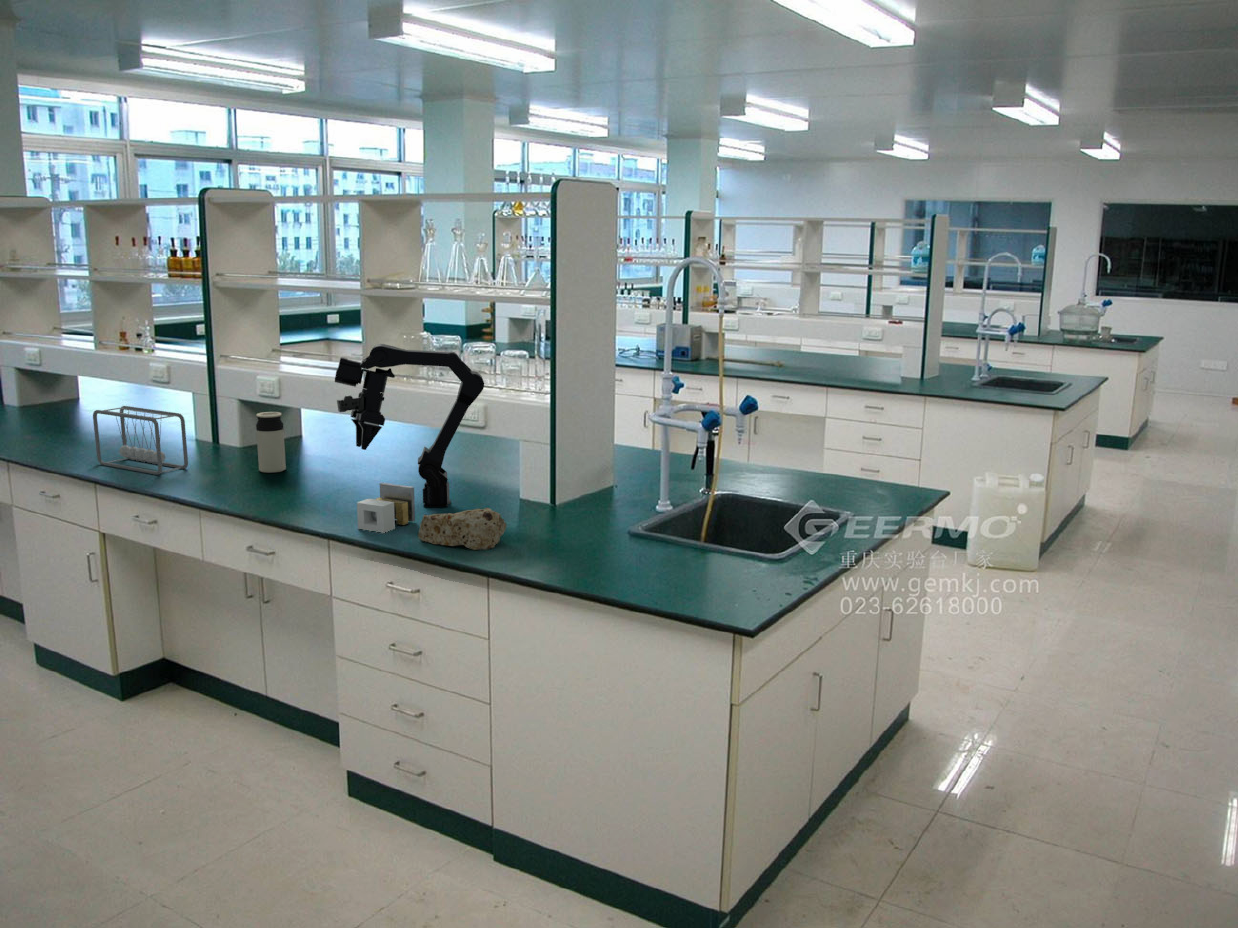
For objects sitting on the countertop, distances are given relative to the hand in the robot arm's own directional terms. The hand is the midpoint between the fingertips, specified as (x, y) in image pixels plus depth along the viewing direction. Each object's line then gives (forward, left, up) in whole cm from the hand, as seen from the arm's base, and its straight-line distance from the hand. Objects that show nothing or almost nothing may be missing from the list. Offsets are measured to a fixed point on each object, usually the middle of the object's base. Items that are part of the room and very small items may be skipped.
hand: (360, 448), depth 266 cm
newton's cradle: (+83, -43, -17) cm, 95 cm away
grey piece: (-10, +13, -17) cm, 23 cm away
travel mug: (+42, -42, -17) cm, 62 cm away
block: (-8, +17, -17) cm, 26 cm away
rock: (-32, +24, -18) cm, 44 cm away
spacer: (-11, +11, -17) cm, 23 cm away
